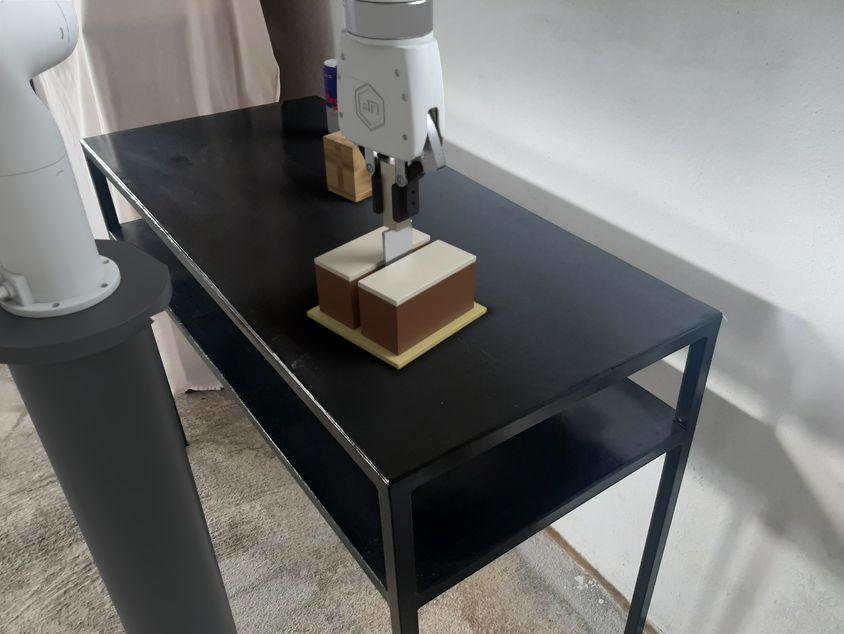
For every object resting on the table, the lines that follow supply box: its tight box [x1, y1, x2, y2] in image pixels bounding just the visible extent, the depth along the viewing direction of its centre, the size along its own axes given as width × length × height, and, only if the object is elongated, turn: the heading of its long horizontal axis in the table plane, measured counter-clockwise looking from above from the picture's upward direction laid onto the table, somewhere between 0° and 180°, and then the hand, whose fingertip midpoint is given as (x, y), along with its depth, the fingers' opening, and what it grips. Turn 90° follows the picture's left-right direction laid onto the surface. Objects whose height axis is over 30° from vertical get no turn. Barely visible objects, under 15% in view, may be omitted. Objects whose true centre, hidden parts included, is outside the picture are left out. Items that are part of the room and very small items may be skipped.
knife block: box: [322, 131, 372, 203], centre depth 104 cm, size 8×6×8 cm
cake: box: [306, 225, 487, 370], centre depth 78 cm, size 14×14×7 cm
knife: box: [380, 157, 413, 268], centre depth 75 cm, size 4×2×16 cm, turn 140°
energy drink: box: [322, 57, 340, 135], centre depth 119 cm, size 5×5×12 cm
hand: (396, 212), depth 73 cm, fingers closed on knife, 2 cm apart
